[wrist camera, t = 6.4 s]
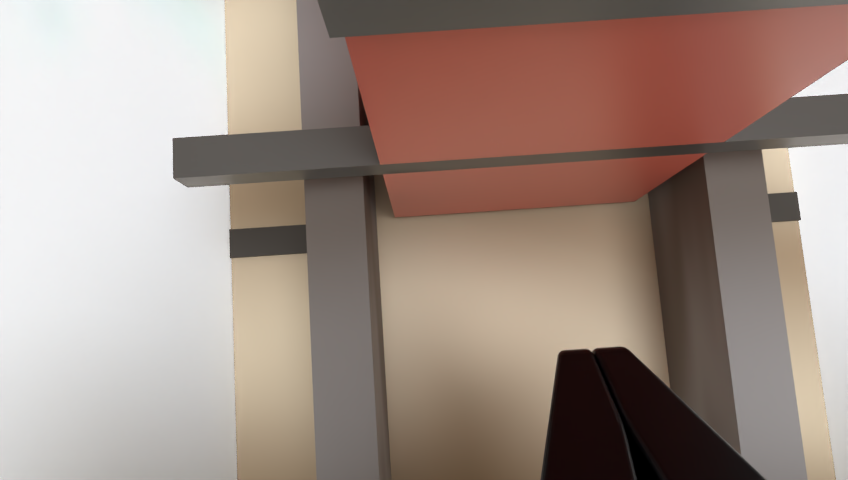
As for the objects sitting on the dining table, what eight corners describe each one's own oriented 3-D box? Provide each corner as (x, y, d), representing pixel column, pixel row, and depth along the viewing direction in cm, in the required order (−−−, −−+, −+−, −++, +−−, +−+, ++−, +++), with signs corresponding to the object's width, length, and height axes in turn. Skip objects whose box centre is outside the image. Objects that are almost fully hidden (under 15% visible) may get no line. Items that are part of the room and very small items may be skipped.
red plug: (778, 196, 14) (1484, -89, 5) (251, 231, 14) (-107, 16, 5) (752, 6, 15) (1329, -585, 5) (244, 40, 15) (-85, -498, 5)
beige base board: (843, 643, 14) (1207, 911, 7) (251, 684, 14) (95, 988, 7) (729, -162, 17) (925, -489, 10) (228, -130, 16) (96, -437, 10)
